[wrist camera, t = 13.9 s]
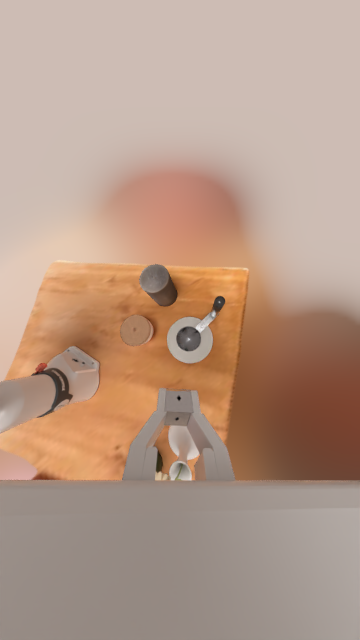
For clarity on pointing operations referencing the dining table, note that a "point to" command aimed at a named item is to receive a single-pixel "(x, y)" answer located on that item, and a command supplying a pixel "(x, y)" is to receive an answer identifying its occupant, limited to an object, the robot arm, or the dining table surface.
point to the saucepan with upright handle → (198, 328)
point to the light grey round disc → (195, 354)
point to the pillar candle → (158, 284)
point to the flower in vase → (180, 454)
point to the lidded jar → (136, 330)
